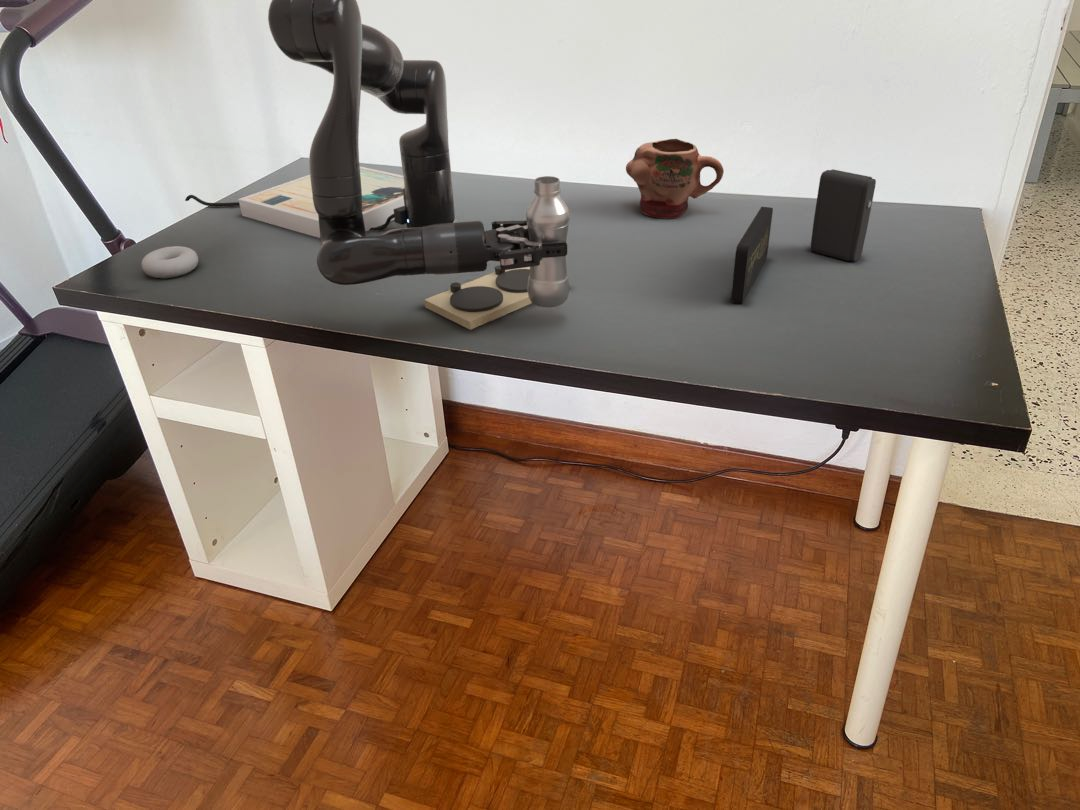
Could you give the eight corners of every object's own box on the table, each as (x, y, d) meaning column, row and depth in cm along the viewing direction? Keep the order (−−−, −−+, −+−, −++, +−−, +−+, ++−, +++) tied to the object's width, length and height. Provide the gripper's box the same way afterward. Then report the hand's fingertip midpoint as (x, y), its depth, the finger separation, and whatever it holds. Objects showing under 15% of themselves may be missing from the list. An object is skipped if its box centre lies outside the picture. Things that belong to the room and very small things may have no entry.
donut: (176, 284, 153) (211, 262, 161) (171, 267, 151) (207, 245, 159) (132, 278, 156) (168, 257, 164) (126, 261, 154) (163, 240, 162)
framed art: (335, 225, 165) (238, 198, 181) (338, 243, 167) (242, 215, 183) (439, 183, 186) (343, 162, 201) (440, 199, 188) (346, 178, 203)
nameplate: (741, 305, 138) (748, 248, 133) (730, 303, 139) (736, 246, 134) (766, 258, 155) (773, 206, 149) (756, 257, 155) (762, 204, 150)
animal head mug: (721, 204, 180) (727, 138, 172) (718, 224, 170) (724, 155, 162) (628, 199, 184) (630, 135, 177) (620, 219, 174) (621, 151, 167)
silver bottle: (526, 295, 137) (522, 174, 126) (567, 293, 137) (567, 172, 126) (528, 313, 131) (525, 188, 120) (571, 311, 132) (572, 186, 121)
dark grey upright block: (864, 257, 154) (880, 176, 146) (854, 264, 151) (869, 182, 143) (818, 245, 159) (830, 166, 151) (807, 252, 157) (819, 172, 149)
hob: (425, 307, 141) (423, 292, 140) (520, 269, 154) (519, 255, 152) (470, 330, 134) (469, 314, 133) (566, 288, 146) (566, 274, 145)
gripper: (454, 242, 119) (571, 233, 121) (449, 208, 131) (555, 200, 133) (458, 291, 123) (571, 281, 125) (452, 253, 135) (556, 245, 137)
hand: (562, 240), depth 129 cm, fingers closed on silver bottle, 6 cm apart
